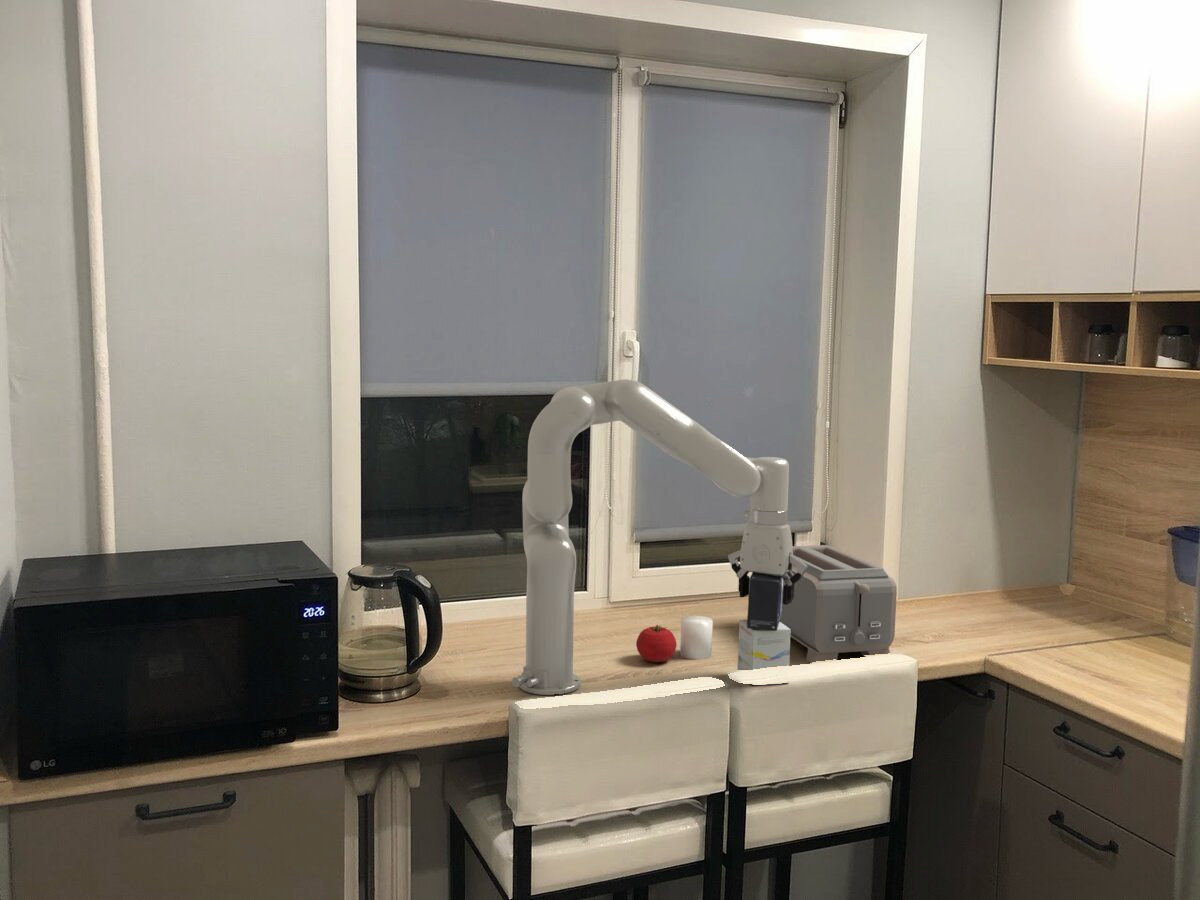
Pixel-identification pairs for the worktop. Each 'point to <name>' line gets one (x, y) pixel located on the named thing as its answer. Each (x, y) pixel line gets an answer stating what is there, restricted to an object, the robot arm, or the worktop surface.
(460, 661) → the worktop surface
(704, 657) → the white capsule cylinder
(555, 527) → the robot arm
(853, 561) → the toaster
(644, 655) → the tomato
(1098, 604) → the worktop surface
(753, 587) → the small box
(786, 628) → the ink box
